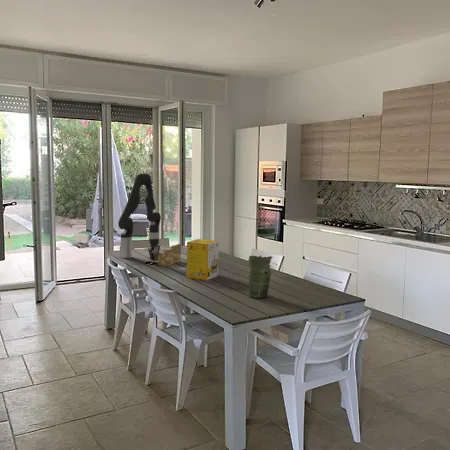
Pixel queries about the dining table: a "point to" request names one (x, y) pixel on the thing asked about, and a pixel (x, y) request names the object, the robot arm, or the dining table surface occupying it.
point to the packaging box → (202, 259)
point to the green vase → (259, 276)
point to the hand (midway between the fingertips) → (154, 259)
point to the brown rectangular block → (156, 256)
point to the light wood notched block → (170, 255)
